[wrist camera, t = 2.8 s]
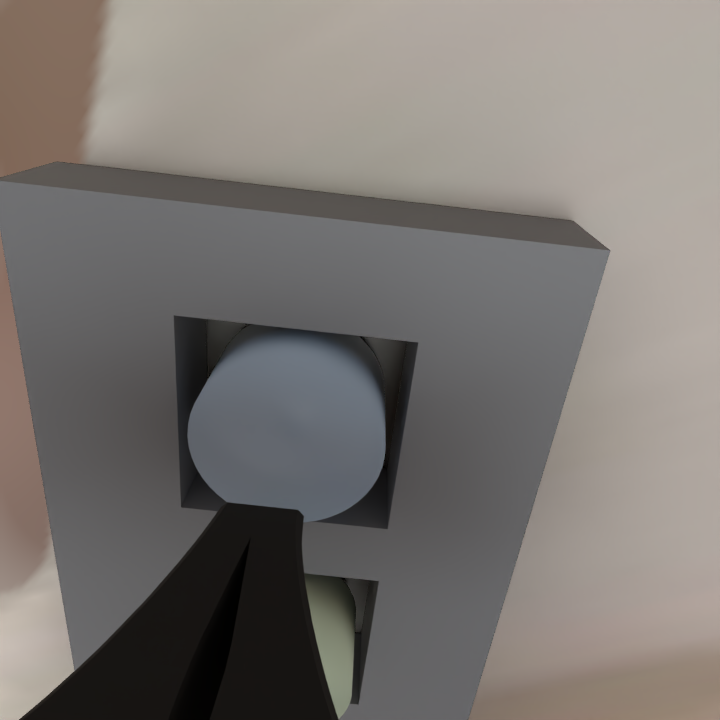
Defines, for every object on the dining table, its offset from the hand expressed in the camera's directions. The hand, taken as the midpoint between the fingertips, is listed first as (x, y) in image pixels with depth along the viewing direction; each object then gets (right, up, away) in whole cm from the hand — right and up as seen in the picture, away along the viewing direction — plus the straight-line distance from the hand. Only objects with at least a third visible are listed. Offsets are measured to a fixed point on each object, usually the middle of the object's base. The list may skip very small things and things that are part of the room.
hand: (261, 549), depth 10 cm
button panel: (-1, -4, +9) cm, 9 cm away
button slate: (0, +3, +5) cm, 6 cm away
